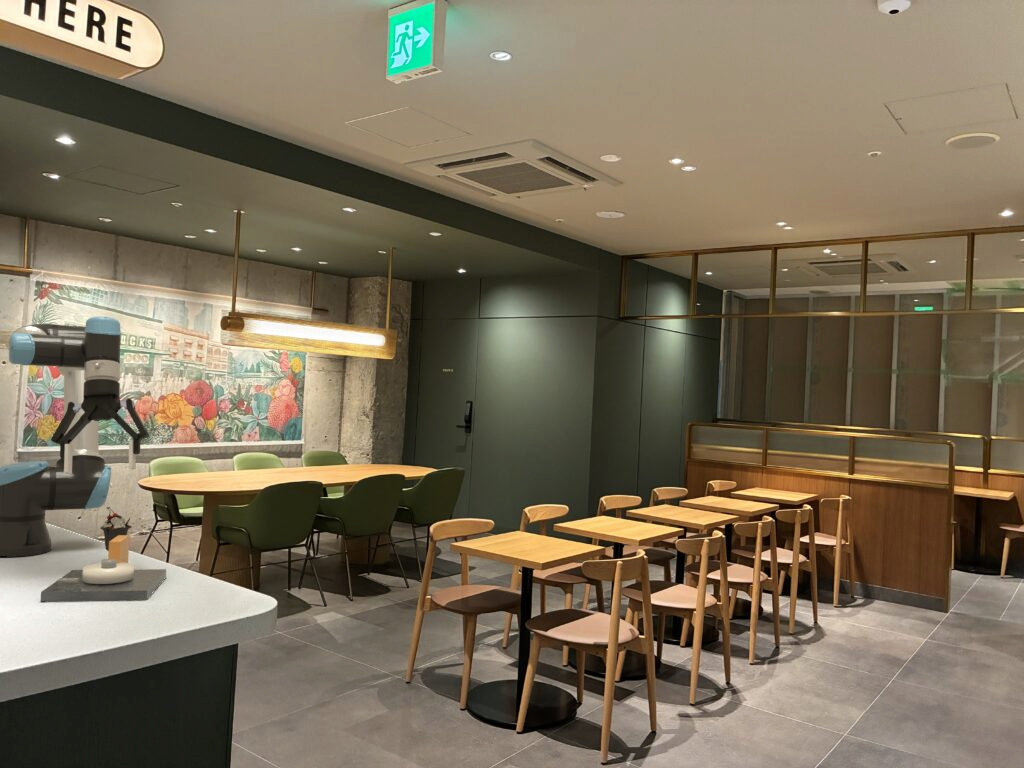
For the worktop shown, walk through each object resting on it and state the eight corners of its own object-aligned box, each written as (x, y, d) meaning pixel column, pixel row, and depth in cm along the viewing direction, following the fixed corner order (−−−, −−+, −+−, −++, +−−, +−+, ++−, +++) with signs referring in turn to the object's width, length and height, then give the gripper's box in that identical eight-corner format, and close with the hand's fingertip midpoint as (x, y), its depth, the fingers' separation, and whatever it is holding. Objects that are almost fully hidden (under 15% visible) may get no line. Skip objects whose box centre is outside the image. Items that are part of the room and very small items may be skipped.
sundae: (91, 569, 186) (95, 507, 187) (113, 563, 193) (116, 503, 193) (113, 572, 184) (116, 509, 185) (134, 566, 191) (138, 506, 191)
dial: (127, 583, 165) (129, 549, 166) (75, 584, 163) (77, 549, 163) (145, 566, 182) (147, 535, 182) (98, 566, 180) (100, 535, 180)
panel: (71, 578, 176) (72, 568, 176) (165, 577, 181) (166, 568, 181) (40, 601, 157) (41, 590, 157) (146, 600, 162) (147, 589, 162)
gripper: (37, 380, 176) (33, 472, 171) (154, 374, 181) (154, 464, 176) (50, 388, 183) (47, 477, 178) (162, 382, 188) (162, 468, 183)
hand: (100, 471), depth 177 cm, fingers open, 13 cm apart
